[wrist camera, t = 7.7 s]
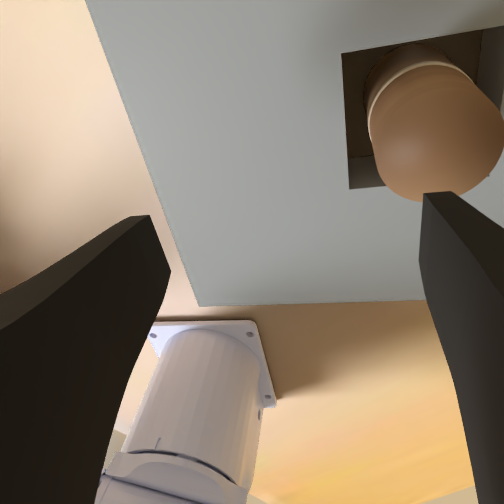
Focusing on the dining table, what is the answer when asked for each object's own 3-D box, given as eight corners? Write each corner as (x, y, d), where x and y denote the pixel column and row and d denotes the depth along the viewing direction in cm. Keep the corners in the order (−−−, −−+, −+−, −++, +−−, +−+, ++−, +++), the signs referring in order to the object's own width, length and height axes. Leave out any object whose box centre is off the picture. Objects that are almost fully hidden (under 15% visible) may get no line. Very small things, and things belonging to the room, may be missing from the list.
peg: (451, 128, 18) (496, 197, 13) (364, 139, 18) (375, 207, 14) (460, 34, 15) (517, 76, 11) (361, 51, 16) (373, 97, 12)
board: (644, 249, 19) (687, 292, 17) (211, 271, 25) (199, 306, 22) (941, -391, 9) (1152, -506, 7) (85, -119, 14) (36, -130, 12)
